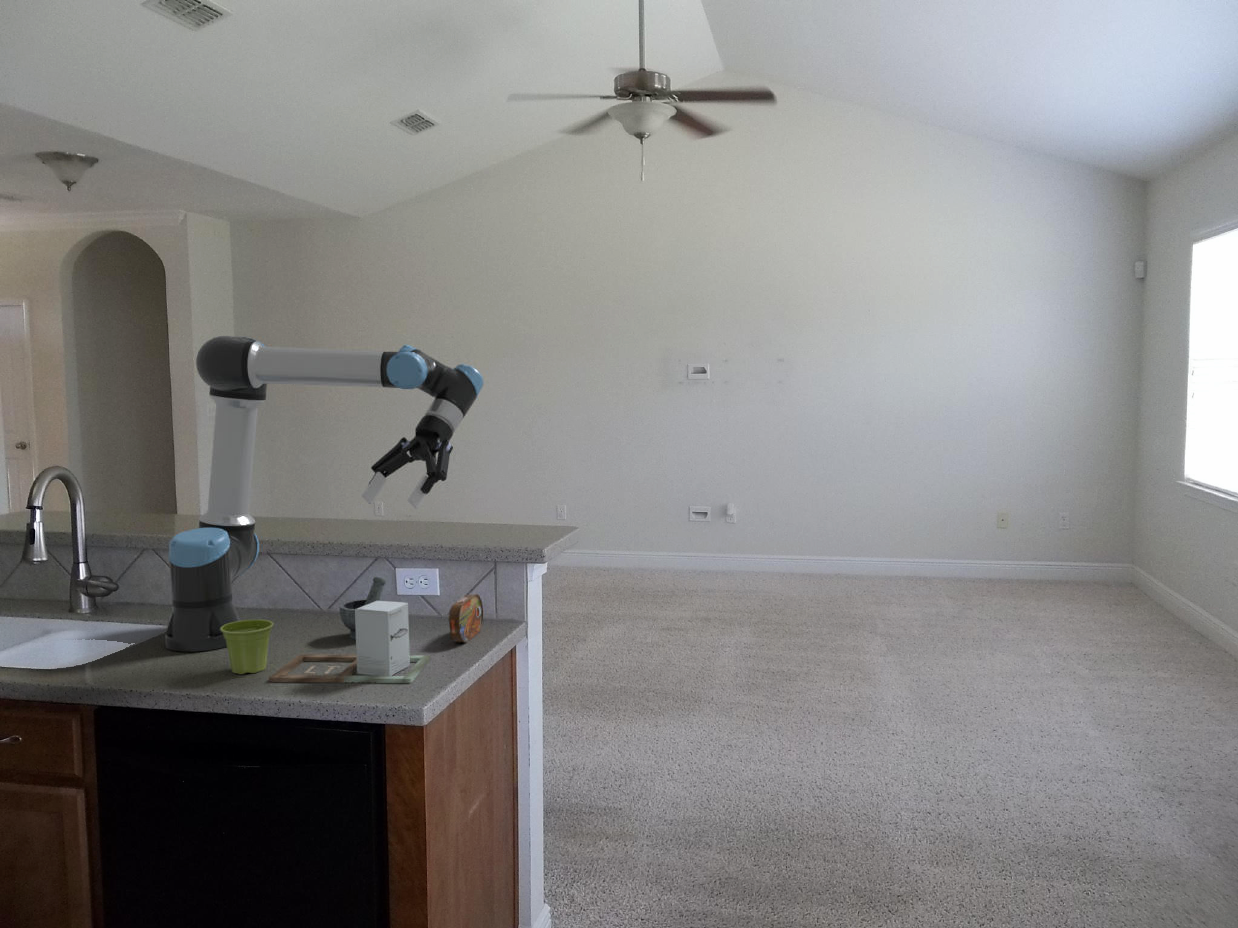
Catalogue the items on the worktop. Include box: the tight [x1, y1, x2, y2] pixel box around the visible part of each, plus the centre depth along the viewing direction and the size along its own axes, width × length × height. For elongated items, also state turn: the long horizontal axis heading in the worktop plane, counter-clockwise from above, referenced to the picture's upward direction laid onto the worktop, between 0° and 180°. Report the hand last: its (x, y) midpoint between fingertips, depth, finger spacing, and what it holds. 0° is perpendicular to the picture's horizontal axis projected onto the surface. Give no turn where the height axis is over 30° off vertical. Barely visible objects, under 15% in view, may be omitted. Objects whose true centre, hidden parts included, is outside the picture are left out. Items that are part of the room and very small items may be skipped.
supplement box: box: [355, 600, 411, 676], centre depth 181 cm, size 7×7×13 cm
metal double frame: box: [268, 654, 432, 684], centre depth 181 cm, size 26×14×1 cm, turn 86°
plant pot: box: [220, 619, 274, 675], centre depth 182 cm, size 9×9×9 cm
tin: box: [448, 593, 484, 644], centre depth 203 cm, size 15×3×8 cm, turn 170°
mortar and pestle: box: [339, 576, 387, 640], centre depth 205 cm, size 11×9×12 cm
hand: (388, 502), depth 196 cm, fingers open, 13 cm apart
